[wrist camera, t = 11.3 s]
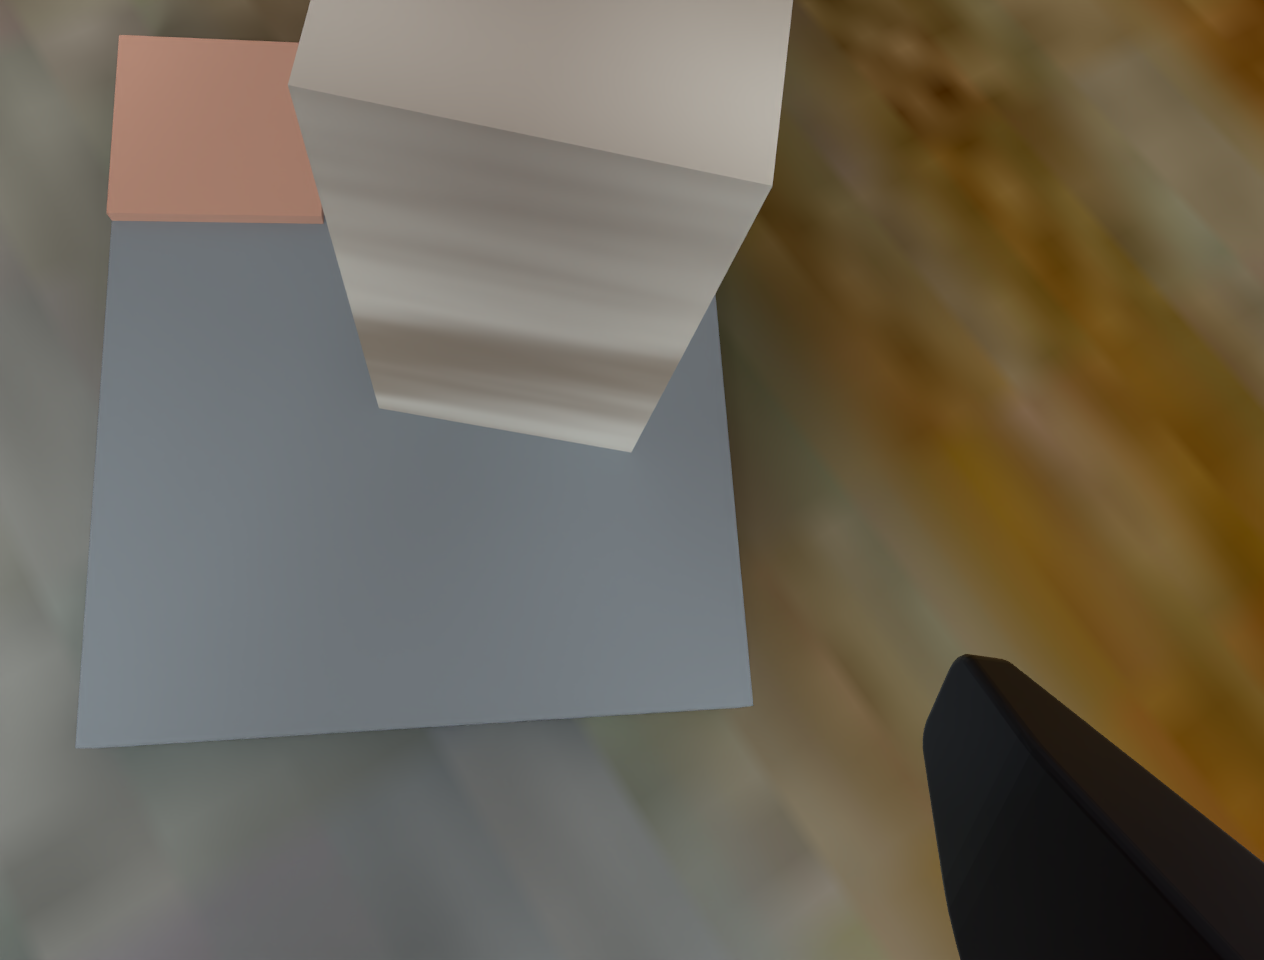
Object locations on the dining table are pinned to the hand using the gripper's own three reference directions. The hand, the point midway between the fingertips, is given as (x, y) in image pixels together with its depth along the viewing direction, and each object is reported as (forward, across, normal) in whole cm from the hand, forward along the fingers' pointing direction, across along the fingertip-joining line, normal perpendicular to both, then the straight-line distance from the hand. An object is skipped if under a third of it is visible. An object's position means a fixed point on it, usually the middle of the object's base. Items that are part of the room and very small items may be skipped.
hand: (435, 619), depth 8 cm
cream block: (+13, 0, +2) cm, 13 cm away
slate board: (+12, +2, +4) cm, 13 cm away
